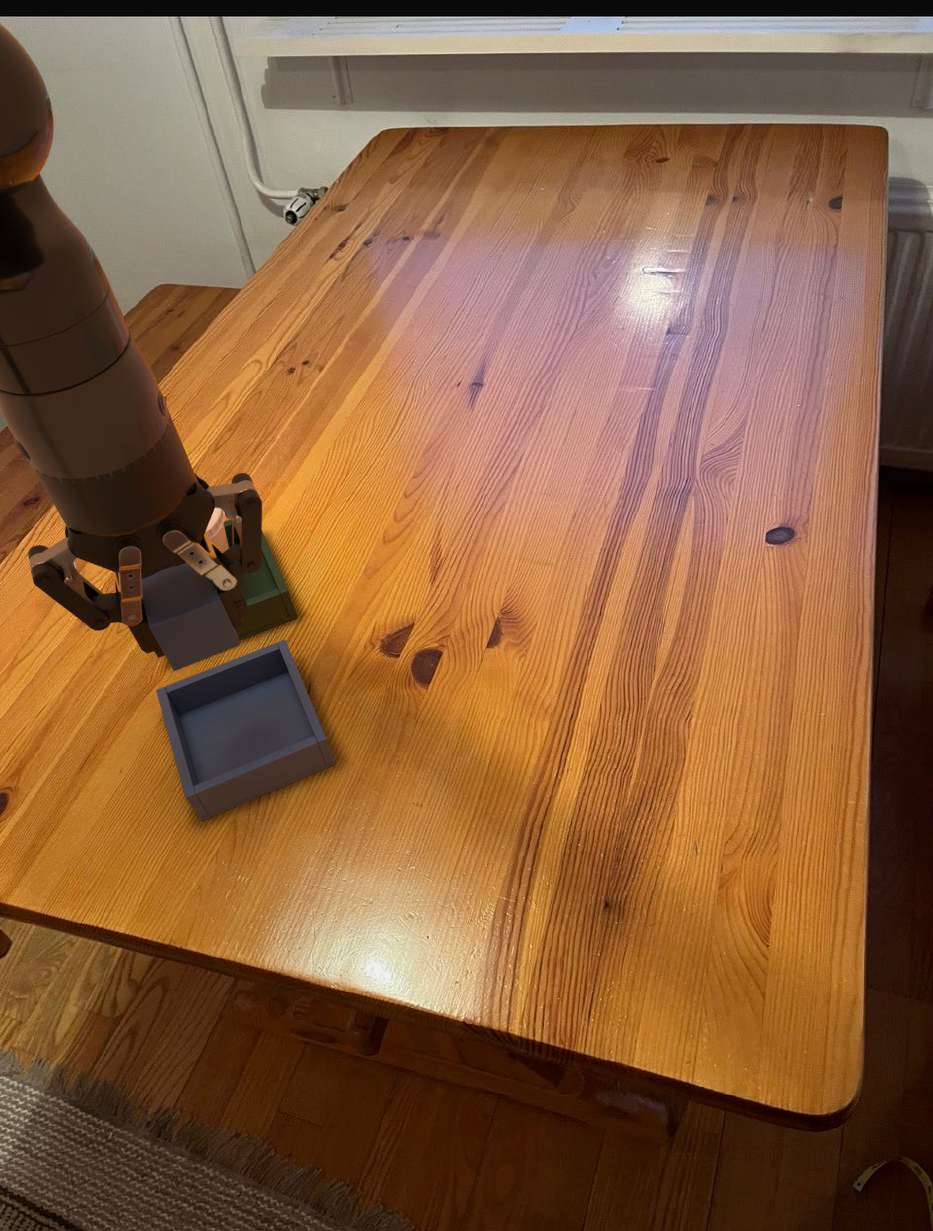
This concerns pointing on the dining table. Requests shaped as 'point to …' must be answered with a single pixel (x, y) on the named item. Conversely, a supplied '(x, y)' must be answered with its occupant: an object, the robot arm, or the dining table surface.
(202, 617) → the blue block
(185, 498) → the robot arm
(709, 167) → the dining table surface
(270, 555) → the green bin
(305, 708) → the blue bin
